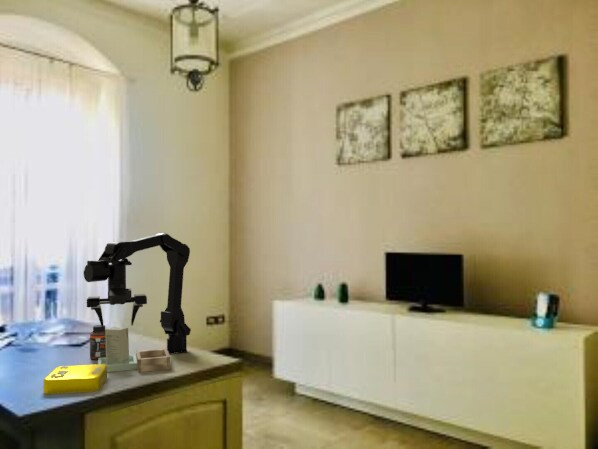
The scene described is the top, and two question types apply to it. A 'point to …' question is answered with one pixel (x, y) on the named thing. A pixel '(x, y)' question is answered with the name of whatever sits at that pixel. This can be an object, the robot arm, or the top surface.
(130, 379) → the top surface
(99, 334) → the supplement bottle
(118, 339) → the skincare box
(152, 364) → the frame
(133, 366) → the tray
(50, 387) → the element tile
